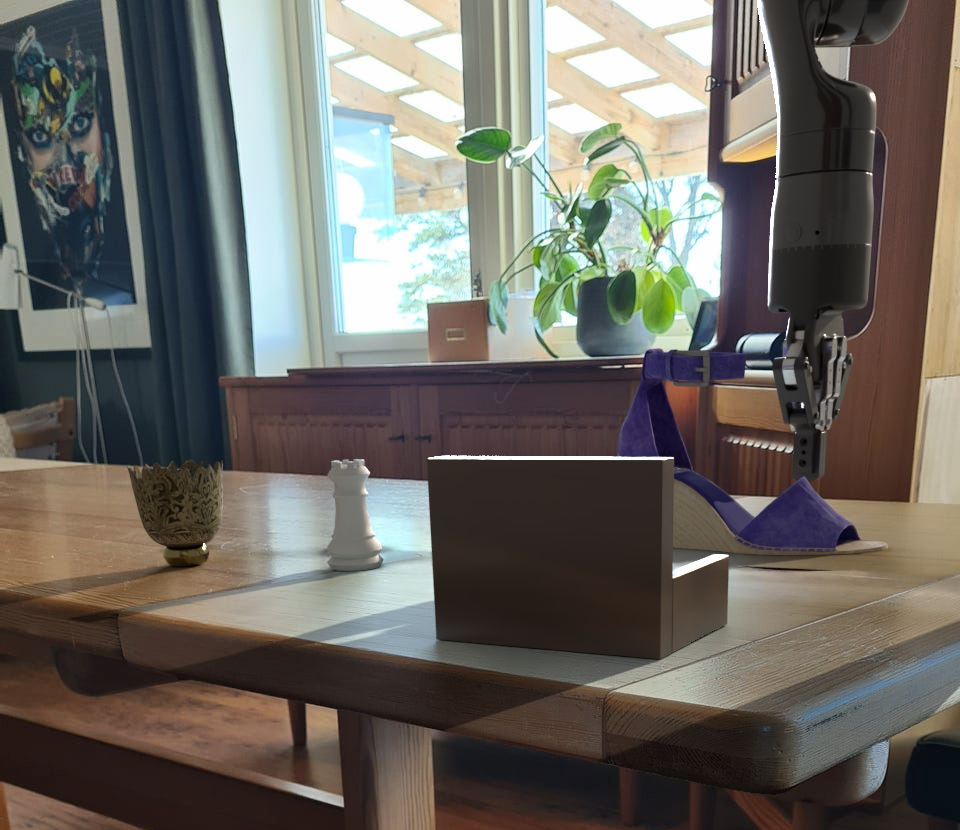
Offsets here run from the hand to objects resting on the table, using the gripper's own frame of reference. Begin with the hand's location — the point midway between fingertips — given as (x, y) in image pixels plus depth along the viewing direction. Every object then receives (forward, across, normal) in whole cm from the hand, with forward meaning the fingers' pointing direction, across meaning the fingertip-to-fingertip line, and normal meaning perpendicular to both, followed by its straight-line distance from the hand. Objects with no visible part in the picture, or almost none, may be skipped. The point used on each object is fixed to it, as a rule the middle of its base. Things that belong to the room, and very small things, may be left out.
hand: (808, 479), depth 104 cm
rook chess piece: (+5, -24, +28) cm, 37 cm away
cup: (+5, -27, +43) cm, 51 cm away
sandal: (+5, -13, 0) cm, 14 cm away
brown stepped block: (+5, -40, 0) cm, 40 cm away
